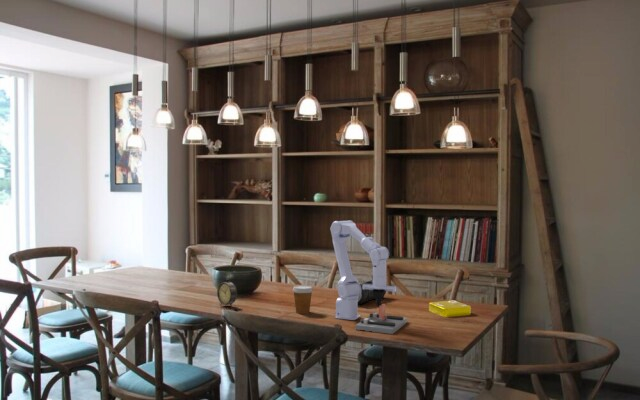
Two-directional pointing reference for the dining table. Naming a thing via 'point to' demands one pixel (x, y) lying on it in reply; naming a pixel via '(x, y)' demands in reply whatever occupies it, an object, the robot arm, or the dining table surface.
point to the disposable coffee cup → (302, 298)
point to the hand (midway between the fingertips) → (379, 307)
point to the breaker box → (381, 323)
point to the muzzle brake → (365, 293)
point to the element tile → (449, 308)
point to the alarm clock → (227, 293)
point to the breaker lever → (382, 311)
